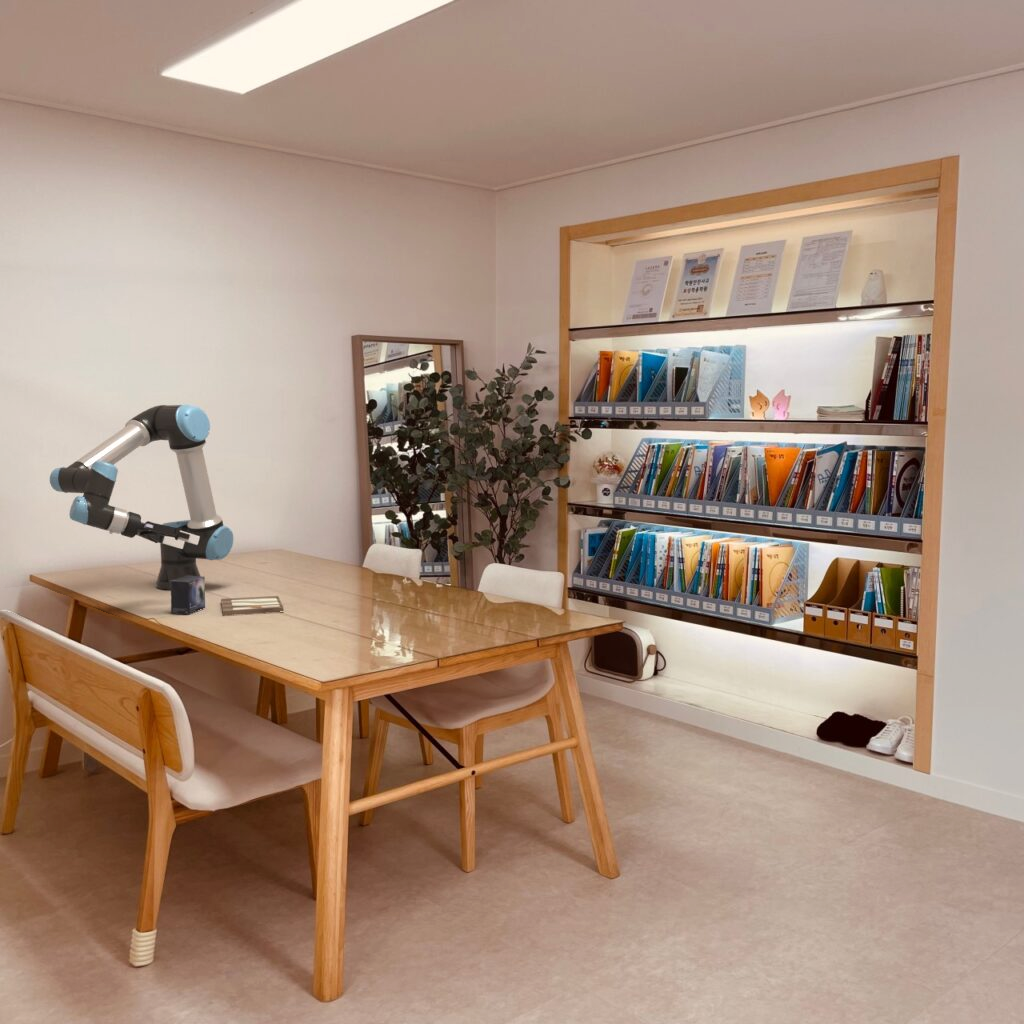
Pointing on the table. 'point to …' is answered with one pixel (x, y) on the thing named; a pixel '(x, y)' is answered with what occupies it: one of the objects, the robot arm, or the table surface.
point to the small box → (187, 594)
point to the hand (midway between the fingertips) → (190, 542)
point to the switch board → (251, 605)
